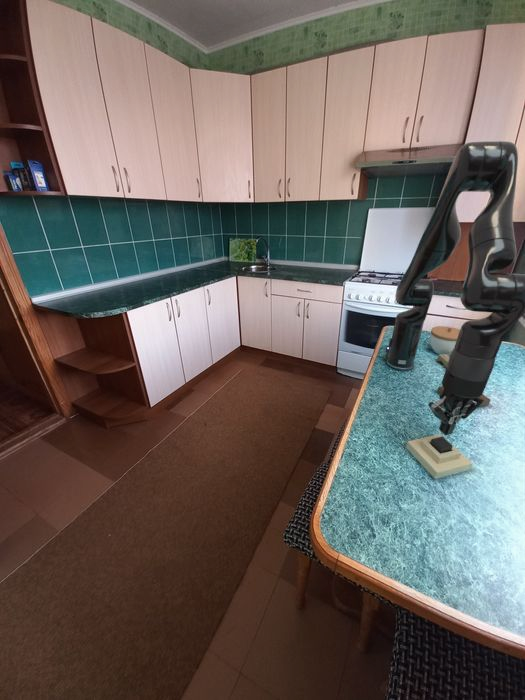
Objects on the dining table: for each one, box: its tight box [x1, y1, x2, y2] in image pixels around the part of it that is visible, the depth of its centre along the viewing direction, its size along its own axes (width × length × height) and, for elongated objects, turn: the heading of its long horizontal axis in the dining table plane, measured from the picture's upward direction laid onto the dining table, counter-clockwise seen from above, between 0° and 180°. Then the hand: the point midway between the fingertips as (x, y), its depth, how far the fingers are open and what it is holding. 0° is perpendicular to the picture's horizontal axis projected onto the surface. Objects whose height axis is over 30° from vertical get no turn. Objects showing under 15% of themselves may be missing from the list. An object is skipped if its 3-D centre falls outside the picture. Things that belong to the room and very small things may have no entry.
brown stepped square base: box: [436, 385, 492, 410], centre depth 92 cm, size 10×10×4 cm
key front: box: [430, 436, 454, 454], centre depth 70 cm, size 3×3×2 cm
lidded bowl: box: [429, 325, 461, 356], centre depth 119 cm, size 13×13×11 cm
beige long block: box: [436, 354, 450, 368], centre depth 107 cm, size 16×8×3 cm, turn 3°
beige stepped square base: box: [405, 433, 474, 480], centre depth 71 cm, size 10×10×4 cm
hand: (445, 432), depth 68 cm, fingers closed
